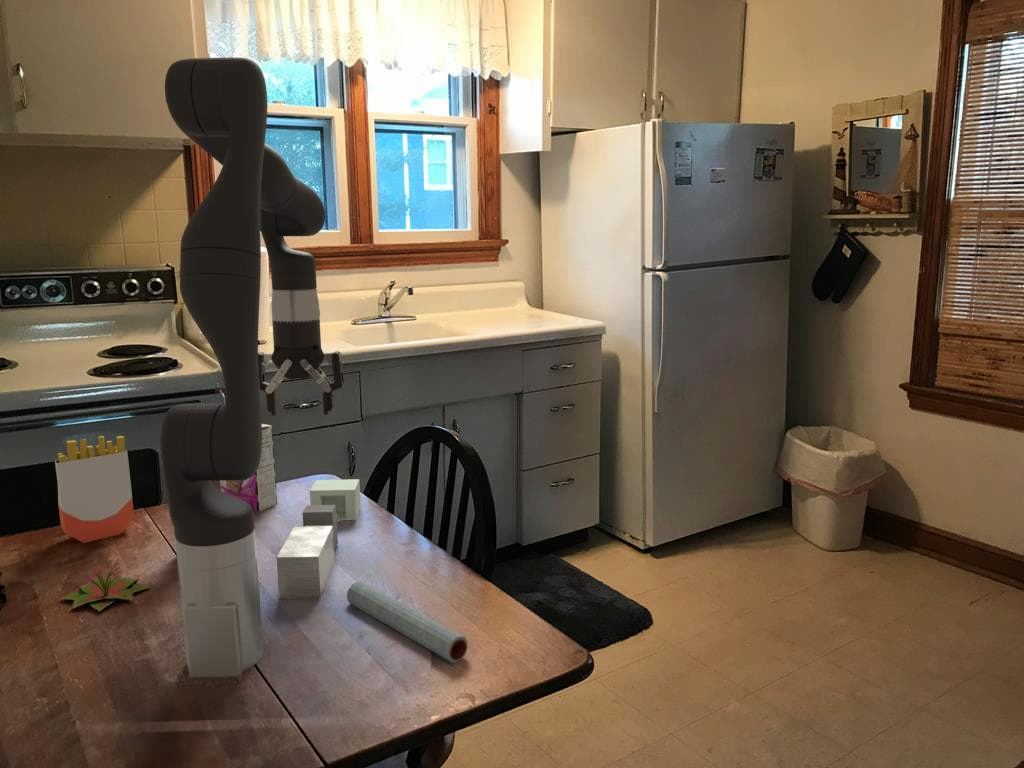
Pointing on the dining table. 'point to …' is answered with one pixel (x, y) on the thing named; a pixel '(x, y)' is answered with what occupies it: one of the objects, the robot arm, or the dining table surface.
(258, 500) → the candy bar box
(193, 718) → the dining table surface
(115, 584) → the lily flower
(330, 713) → the dining table surface
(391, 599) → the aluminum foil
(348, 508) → the socket block
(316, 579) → the cream rectangular block
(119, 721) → the dining table surface
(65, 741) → the dining table surface
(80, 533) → the french fries container
